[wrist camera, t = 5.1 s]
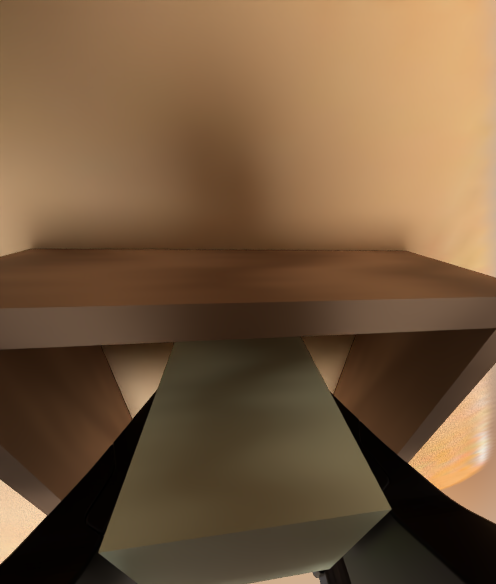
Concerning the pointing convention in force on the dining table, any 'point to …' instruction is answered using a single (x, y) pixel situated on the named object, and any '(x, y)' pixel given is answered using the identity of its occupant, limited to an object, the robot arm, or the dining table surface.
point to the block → (241, 471)
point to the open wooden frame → (225, 326)
